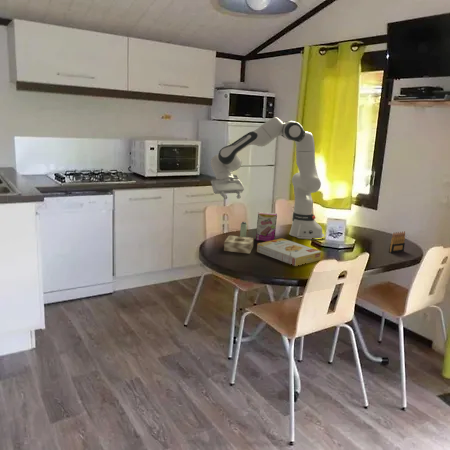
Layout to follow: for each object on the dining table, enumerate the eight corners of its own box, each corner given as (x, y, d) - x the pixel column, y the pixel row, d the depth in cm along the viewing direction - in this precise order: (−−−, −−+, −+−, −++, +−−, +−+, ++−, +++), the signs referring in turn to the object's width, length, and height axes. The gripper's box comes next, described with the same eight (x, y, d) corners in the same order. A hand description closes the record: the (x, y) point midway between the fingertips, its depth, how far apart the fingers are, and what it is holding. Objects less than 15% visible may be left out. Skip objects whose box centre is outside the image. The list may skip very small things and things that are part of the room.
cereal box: (281, 237, 251) (322, 250, 231) (281, 246, 253) (321, 260, 232) (256, 243, 238) (297, 256, 218) (255, 252, 240) (296, 267, 219)
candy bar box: (255, 240, 261) (257, 213, 257) (255, 238, 266) (258, 211, 262) (274, 242, 260) (277, 214, 257) (274, 240, 265) (277, 213, 261)
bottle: (246, 242, 257) (247, 221, 254) (245, 243, 254) (246, 223, 251) (240, 241, 258) (241, 221, 255) (239, 243, 254) (240, 222, 252)
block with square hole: (253, 246, 249) (253, 238, 248) (249, 253, 235) (250, 244, 234) (228, 243, 251) (229, 235, 250) (223, 250, 238) (224, 241, 237)
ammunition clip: (391, 253, 252) (394, 232, 250) (388, 252, 254) (391, 231, 251) (403, 251, 258) (407, 231, 255) (401, 250, 259) (404, 230, 257)
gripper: (212, 176, 258) (220, 195, 252) (240, 175, 269) (249, 194, 263) (207, 182, 262) (215, 202, 257) (235, 182, 274) (243, 200, 268)
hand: (232, 198), depth 260 cm, fingers open, 8 cm apart
